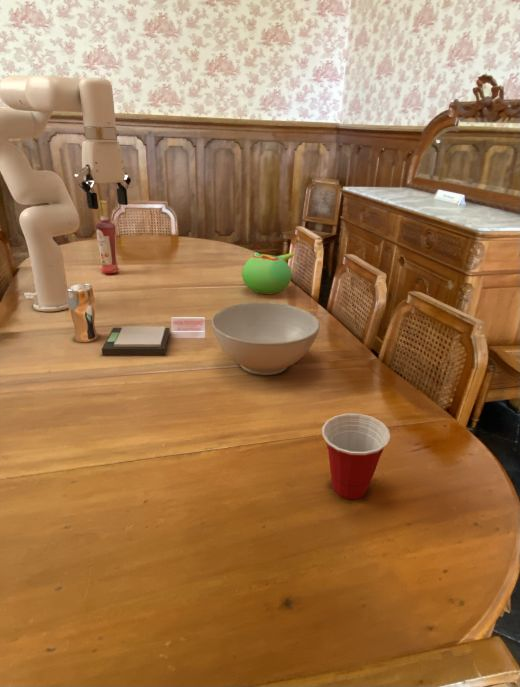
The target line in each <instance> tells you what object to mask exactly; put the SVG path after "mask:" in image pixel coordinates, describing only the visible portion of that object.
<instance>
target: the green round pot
mask: <svg viewBox="0 0 520 687" xmlns="http://www.w3.org/2000/svg"><path fill="white" fill-rule="evenodd" d="M294 256H295V253H294V252H293V253H292V252H291V253H287V254H286V253H285V254H280V255H273V254H263V253H262V254H260V253H259V252H255V253H254V255H253V257H250V258H249V259H248V260H247V261H246V262H245V263H244V264H243V267H242V270H241V278H242V281H243V283H244V285H245V286H246V287H247V288H248V289H250V290H251V291H253V292H255V293H258V294H263V295H274V294H278V293H281V292H283V291H284V290H286V289H287V288H288V286H289V285H290V284H291V283H290V282H291V280H292V270H291V267H290V265H289V263H288V262H287V261H288V260H289V259H291V258H293V257H294Z"/></svg>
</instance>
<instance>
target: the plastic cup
mask: <svg viewBox="0 0 520 687" xmlns="http://www.w3.org/2000/svg"><path fill="white" fill-rule="evenodd" d="M321 433H322V434H321V436H322V438H323V440H324V441H325V443H326V446H327V450H328V461H329V471H330V474H331V475H330V476H331V486H332V489H333V490H334V493H336V494H337V495H338V496H339V497H342V498H344V499H346V500H358V499H361V498H362V497H364V496H365V494H366V493H367V491H368V488H369V486H370V483H371V481H372V479H373V477H374V474H375V471H376V470H377V466H378V464H379V461H380V458H381V456H382V454H383V452H384V449H385V448H386V447H387V445H388V443H389V442H390V439H391V433H390V430H389V428H388V427H387V426H386V425H385V423H383V421H381V420H380V419H377V418H375V417H374V416H371V415H367V414H363V413H351V412H350V413H348V412H347V413H342V414H338V415H335V416H333V417H331V418H329V419H327V420H326V421H325V423H324V424H323V425H322V427H321Z"/></svg>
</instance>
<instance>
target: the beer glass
mask: <svg viewBox="0 0 520 687" xmlns="http://www.w3.org/2000/svg"><path fill="white" fill-rule="evenodd" d="M66 290H67V302H68V311H69V315H70V317H71V320H72V323H73V326H74V340H75V341H76V342H77V343H91V342H94V341H96V340H97V339H98V338H99V337H98V333H97V329H96V325H95V324H96V323H95V321H96V320H95V318H96V299H95V294H94V289H93V285H92V284H89V283H84V282H83V283H74V284H73V283H72V284H70V285H67V288H66Z"/></svg>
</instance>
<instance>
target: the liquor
mask: <svg viewBox="0 0 520 687" xmlns="http://www.w3.org/2000/svg"><path fill="white" fill-rule="evenodd" d="M107 202H108V201H107V200H98V207H99V209H100V221H99V222H98V223H97V224H96V225H95V232H96V239H97V240H96V241H97V245H98V251H99V256H100V263H101V268H100V272H102V274H104V275H107V276H112V275H115V274H117V273H118V272H119V271H120V269H119V267H118V257H117V256H118V255H117V233H116V225H115V224H114V223H113V222H111V221H110V219H109V215H108V210H107V209H108V205H107V204H108V203H107Z"/></svg>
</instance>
